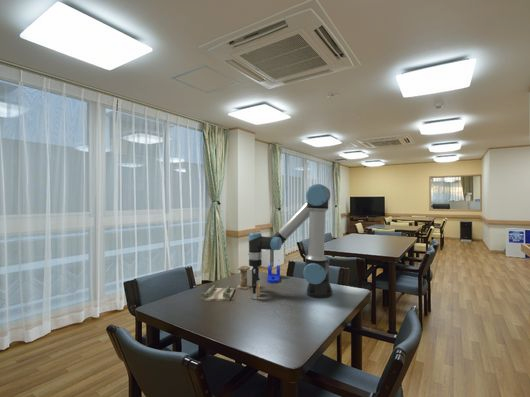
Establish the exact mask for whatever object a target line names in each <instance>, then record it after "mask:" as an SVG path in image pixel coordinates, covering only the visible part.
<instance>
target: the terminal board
mask: <svg viewBox="0 0 530 397" xmlns="http://www.w3.org/2000/svg"><path fill="white" fill-rule="evenodd" d="M235 291H236V287H231V285H230V284H227V286H226V287H216V284H212V286H211V287H209V288H208V290H206V292H201V298H200V300H201V302H202V301H203V302H204V301H205V302H206V301H207V302H215V301H216V302H230V300H231V298H232V296H233V294H234V292H235Z"/></svg>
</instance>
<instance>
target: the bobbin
mask: <svg viewBox="0 0 530 397" xmlns="http://www.w3.org/2000/svg"><path fill="white" fill-rule="evenodd" d="M236 268H237V271H239V275H240V276H239V277H240V278H239V280H240V281H239V282H240V283H239V285H237V289H238V290H249V289H251V285H250V284H248V271H249V270H250V269H251V266H249V265H248V266H247V265H242V266H240V265H239V266H238V267H236Z"/></svg>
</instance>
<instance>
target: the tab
mask: <svg viewBox="0 0 530 397" xmlns="http://www.w3.org/2000/svg"><path fill="white" fill-rule="evenodd" d="M251 286H252V284H251V285H250V297H251V298H252V288H251ZM258 297H259V298H260V297H261V284H260V283H259V284H258V283H257V298H258Z"/></svg>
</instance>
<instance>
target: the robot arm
mask: <svg viewBox="0 0 530 397" xmlns="http://www.w3.org/2000/svg"><path fill="white" fill-rule="evenodd" d="M305 199H306V200H305V202H304V204H303V205H301V206H300V207H299V209H298V210H297V211H296V212H295V213H293V215H292V216H291V217H290V218H289V219H288V220H287V221H286V222H285V223H284V224H283V225H282V227H280V229H278V231H276V232H275V234H273V235H271V236H262V233H261V232H250V233H249V234H248V253H247V255H248V267H252V269H251V285H252V286H251V285H250V289H251V288H252V297H251V299H252V300H257V299H258V297H257V283H258V284H260V282H259V281H260V276H259V272H260V269H259V267H261V266H262V263H263V262H262V260H263V259H262V258H263V257H262V255H263V254H262V253H263V252H262V251H263V250H267V251H270V250H271V251H280V250H281V249H282V247H283V245H284V244H285V242H286V241H287V240H288V239H289V237H291V236H292V234H294V233H295V232H296V231H297V230H298V229H299V228H300V227H301V226H302V225H303V224H304V223H305V222H306V221H307V220H308V218H309V223H308V247H307V248H308V250H307V251H308V254H307V255H306V256H305V257H304V258H305V260H304V261H305V262H304V268H303V273H302V274H303V277H304V279H305V281H306V282H308V284H307V288H306V295H307V296H309V297H312V298H317V299H325V298H331V297H332V296H333V289H332V286H331V283H330V258H329V256H328V255H325V232H326V213H327V211H328V210H329V203H330V202H329V201H330V199H331V191H330V189H329V188H328V187H327V186H325V185H324V184H321V183H315V184H312V185H310V186H309V187H308V188H307V190H306V193H305Z"/></svg>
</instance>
